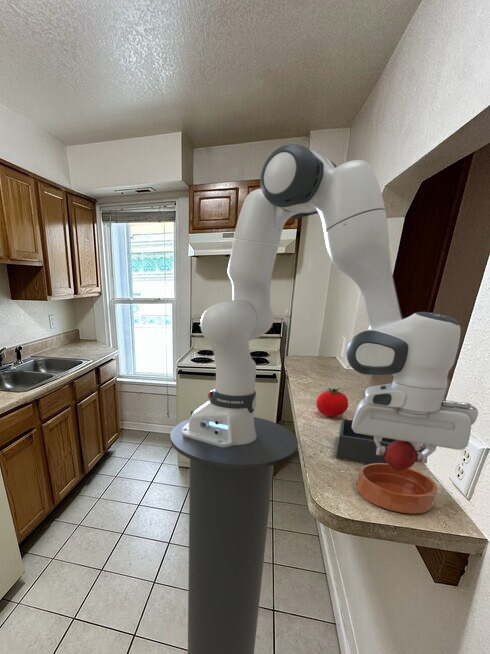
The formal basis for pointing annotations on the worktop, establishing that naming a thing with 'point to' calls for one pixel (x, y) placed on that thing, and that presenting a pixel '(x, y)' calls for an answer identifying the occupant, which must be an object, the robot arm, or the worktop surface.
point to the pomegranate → (400, 455)
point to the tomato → (332, 403)
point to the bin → (358, 445)
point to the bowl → (396, 488)
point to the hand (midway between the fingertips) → (398, 458)
